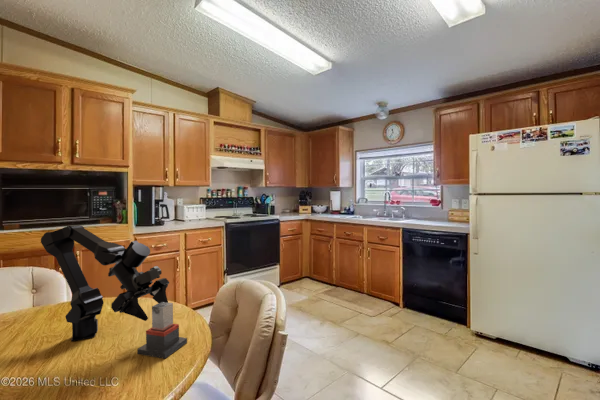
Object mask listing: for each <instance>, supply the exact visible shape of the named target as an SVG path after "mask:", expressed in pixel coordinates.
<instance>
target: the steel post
mask: <svg viewBox="0 0 600 400" xmlns="http://www.w3.org/2000/svg"><path fill="white" fill-rule="evenodd" d="M151 320H152V321H151V328H152V330H154V331H161V332H164V331H166V330H168V329H169V328H171V327H173V324H174V304H173V302H168V303H167V302H161V303H158V302H157V303H155V304H154V305H152V306H151Z"/></svg>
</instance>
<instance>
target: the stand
mask: <svg viewBox="0 0 600 400" xmlns="http://www.w3.org/2000/svg"><path fill="white" fill-rule="evenodd" d="M187 343H188V338H187V337H182V336H180V324H179V323H173V327H171V328H169V329H168V330H166V331H164V332H161V331H154V330H152V327H150V328H148V329H147V330H145V344H143V345H141V346H140V347H139V348H137V350H136V351H137V352H136V353H137V355H141V356H147V357H153V358H159V359H167V358H168V357H170V356H171V355H172V354H174V353H175V352H176V351H178V350H179V349H180V348H182V347H183V346H184V345H186V344H187Z"/></svg>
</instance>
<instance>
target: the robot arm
mask: <svg viewBox="0 0 600 400" xmlns="http://www.w3.org/2000/svg"><path fill="white" fill-rule="evenodd" d="M40 243H41V245H42V247H43V248H44V250H45V251H46V253H48V254H49V255H51V256H53V257H54V258H55V259H56V262H57V263H58V265H59V267H60V269H61V272H62V274H63V277H64V279H65V281H66V283H67V285H68V287H69V290H70V292H71V294H72V296H71V299H70V303H69V304H70V306H71V308H70V310H69V311H68V312H67V313H66V314H65V319H66V323H71V328H72V329H71V332H72V337H71V339H70V341H71V342H76V341H82V340H87V339H91V338H95V337H96V335H97V334H98V330H99V323H98V322H99V319H98V318H97V316H98V315H101V314H102V309H103V307H104V299H103V298H104V296H103V295H102V293H101V291H100V289H99V288H98V287H95V288H93V287H91V286H90V285H89V283H88V281H87V279H86V277H85V274H84V272H83V270H82V267H81V266H80V263H79V261H78V260H77V256H76V255H75V253H74V251H73V250H74V247H75V243H78V245H80V246H82V247H84V248H85V249H86V250H89V251H90V252H92V254H93V255H94V259H95V260H96V261H97V262H98V263H99V264H100V265H101V266H105V267H106V266H109V265H113V266H111V267H110V268H109V271H108V273H107V277H113V276H115V277H116V279H117V280H118V281H119V283H120V284H121V285H120V289H121V290H124V289H125V292H121V293H119V294H118V295H117V297H115V299H114V300H113V301H112V302H111V303H110V305H111V307H110V308H111V309H112V311H113V313H118V312H119V313H120V314H122V313H124V314H126V315H129V316H132V317H135V318H137V319H140V320H141V321H145V322H147V321H148V319H149V317H148V315H147V314H146V312H145V311H144V309H143V308H142V307H141V305H140V303H139V299H140V298H142V297H144V296H146V295H149V296H152V300H154V302H156V303H157V304H158V303H161V302H167V303H169V299H168V296H167V292H166V291H167V289H168V286H169V284H170V281H169V280H168V278H165V277H163V278H161V275H162V269H161V268H160V267H159V266H158V265H155V266H153V267H150V268H149V270H147V271H138V270H137V268H139V267H141V265H142V264H143V263H144V261H145V260H146V259H147V258H148V257H149V255H150V254H151V249H150V248H149V246H147V245H145V244H144V243H141V242H139V241H138V240H132V241H131V242H130V243H129V244H128V246H127V248H126V247H124V246H123V245H122V244H119V243H116V242H109V241H105V240H104V239H102V238H100V237H99V236H97V235H95V234H94V233H92V232H90V231H89V230H88V229H86V228H85V227H84V226H83V225H80V224H76V225H75V224H74V225H66V226H65V227H63V228H60V229H56V230H53V231H47V232H46V231H45V233H44V234H43V235H42V236H41V238H40ZM153 281H154V282H153Z"/></svg>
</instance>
